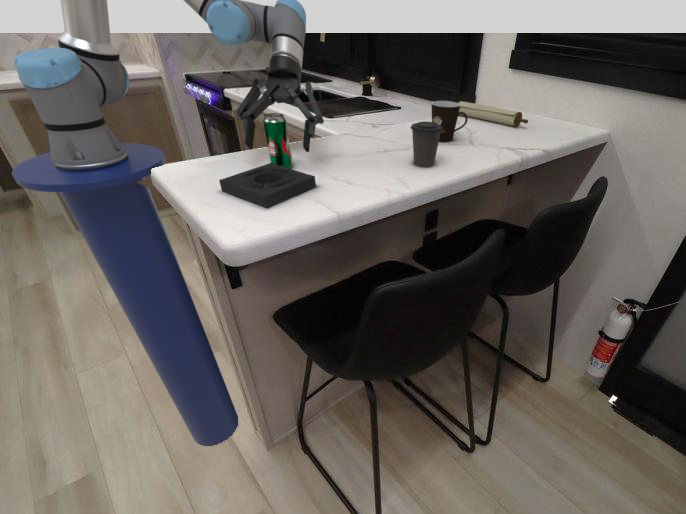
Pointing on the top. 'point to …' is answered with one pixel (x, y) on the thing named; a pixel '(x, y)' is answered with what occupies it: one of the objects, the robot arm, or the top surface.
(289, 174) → the socket pad
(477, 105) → the rolling pin
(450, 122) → the coffee mug
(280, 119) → the soda can
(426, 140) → the coffee cup
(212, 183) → the top surface
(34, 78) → the robot arm
